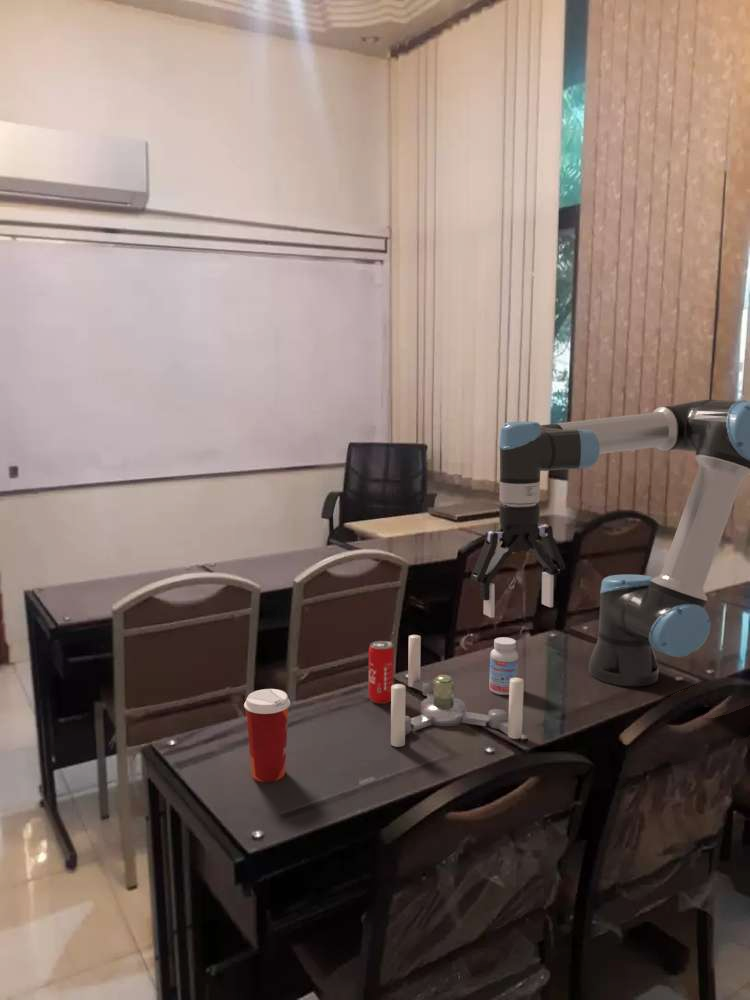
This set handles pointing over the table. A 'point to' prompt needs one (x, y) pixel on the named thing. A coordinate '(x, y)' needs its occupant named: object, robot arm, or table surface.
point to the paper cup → (267, 733)
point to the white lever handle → (417, 667)
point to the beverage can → (381, 671)
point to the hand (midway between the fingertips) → (518, 610)
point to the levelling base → (445, 708)
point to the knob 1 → (399, 716)
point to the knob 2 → (510, 711)
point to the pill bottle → (503, 665)
